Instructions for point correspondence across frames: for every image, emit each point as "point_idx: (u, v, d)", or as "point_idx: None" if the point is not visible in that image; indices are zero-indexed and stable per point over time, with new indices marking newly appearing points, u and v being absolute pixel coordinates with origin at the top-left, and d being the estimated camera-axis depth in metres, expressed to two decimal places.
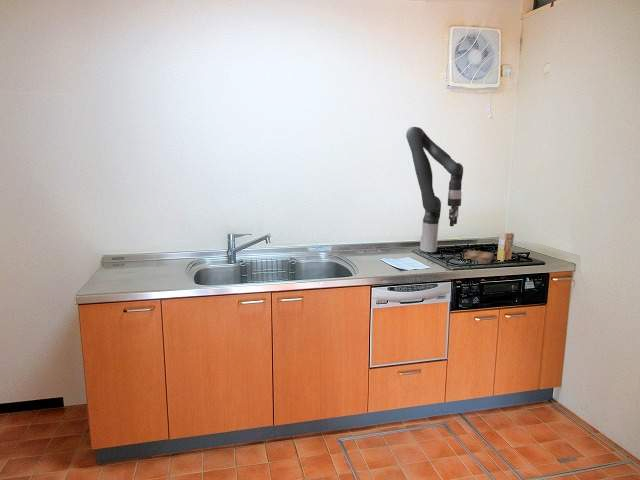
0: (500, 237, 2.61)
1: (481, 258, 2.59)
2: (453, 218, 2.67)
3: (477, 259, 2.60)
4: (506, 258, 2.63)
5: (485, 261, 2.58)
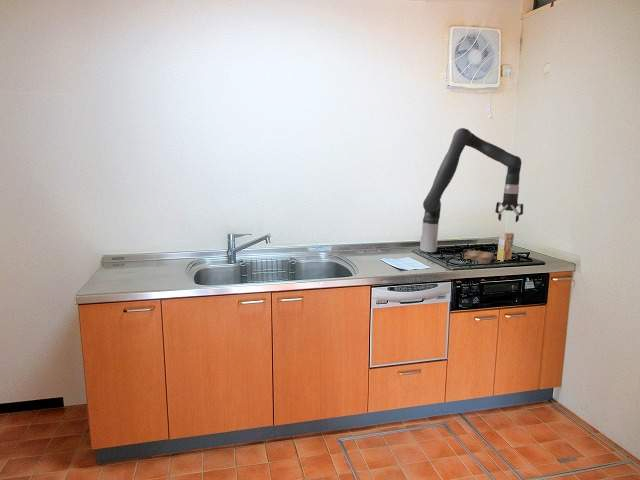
0: (500, 237, 2.61)
1: (481, 258, 2.59)
2: None
3: (477, 259, 2.60)
4: (506, 258, 2.63)
5: (485, 261, 2.58)
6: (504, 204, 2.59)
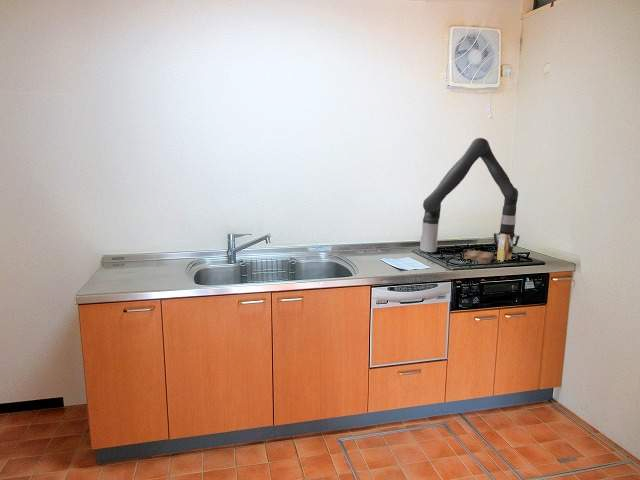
0: (500, 237, 2.61)
1: (481, 258, 2.59)
2: None
3: (477, 259, 2.60)
4: (506, 258, 2.63)
5: (485, 261, 2.58)
6: None
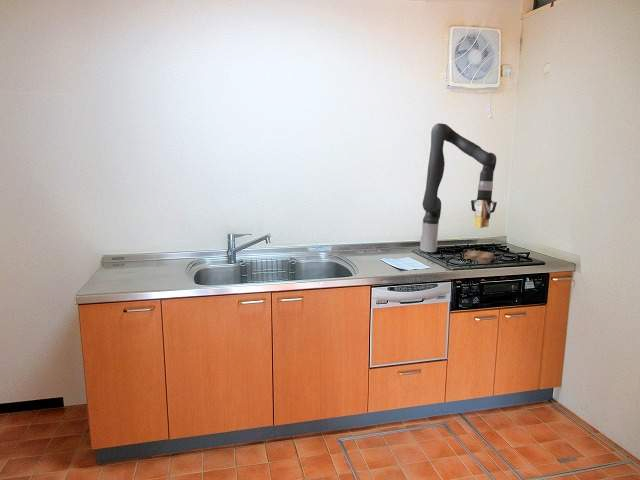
0: (477, 203, 2.58)
1: (481, 258, 2.59)
2: (493, 211, 2.59)
3: (477, 259, 2.60)
4: (483, 225, 2.60)
5: (485, 261, 2.58)
6: None
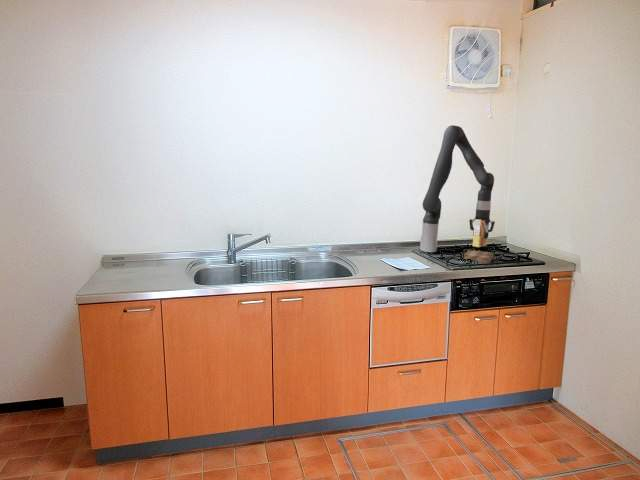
0: (475, 223, 2.60)
1: (481, 258, 2.59)
2: (491, 230, 2.61)
3: (477, 259, 2.60)
4: (482, 244, 2.62)
5: (485, 261, 2.58)
6: None
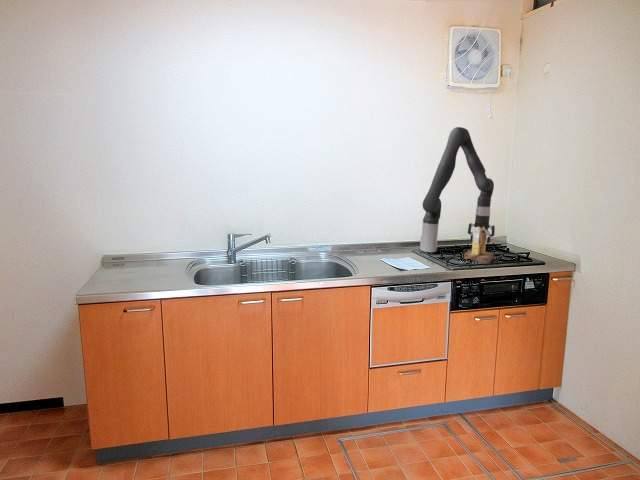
0: (474, 231, 2.61)
1: (481, 258, 2.59)
2: (493, 234, 2.61)
3: (477, 259, 2.60)
4: (481, 252, 2.63)
5: (485, 261, 2.58)
6: (476, 225, 2.63)
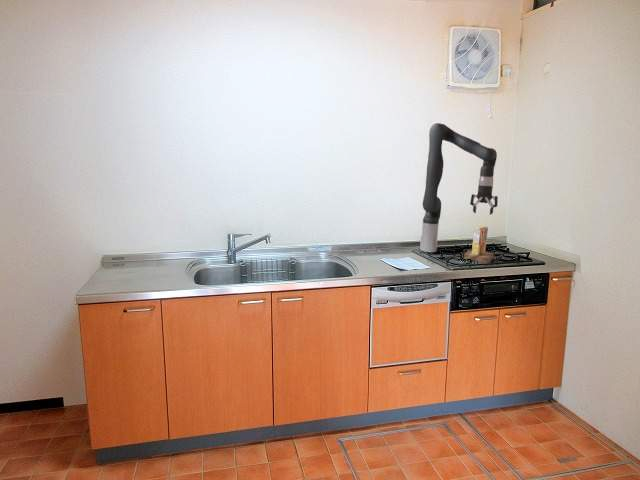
0: (475, 231, 2.61)
1: (481, 258, 2.59)
2: None
3: (477, 259, 2.60)
4: (481, 252, 2.63)
5: (485, 261, 2.58)
6: (479, 196, 2.60)
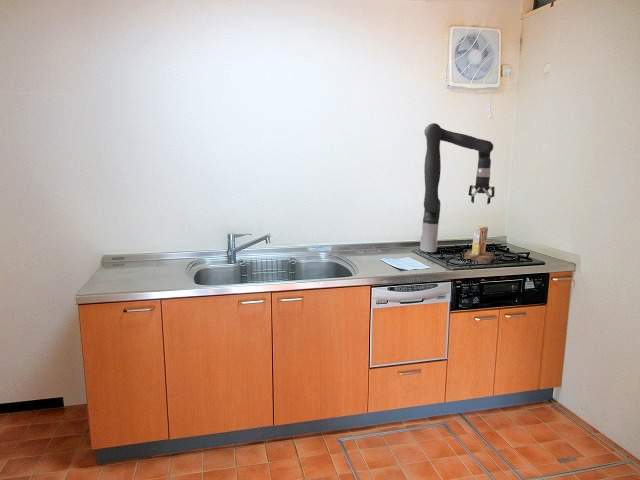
0: (475, 231, 2.61)
1: (481, 258, 2.59)
2: None
3: (477, 259, 2.60)
4: (481, 252, 2.63)
5: (485, 261, 2.58)
6: (476, 187, 2.72)
